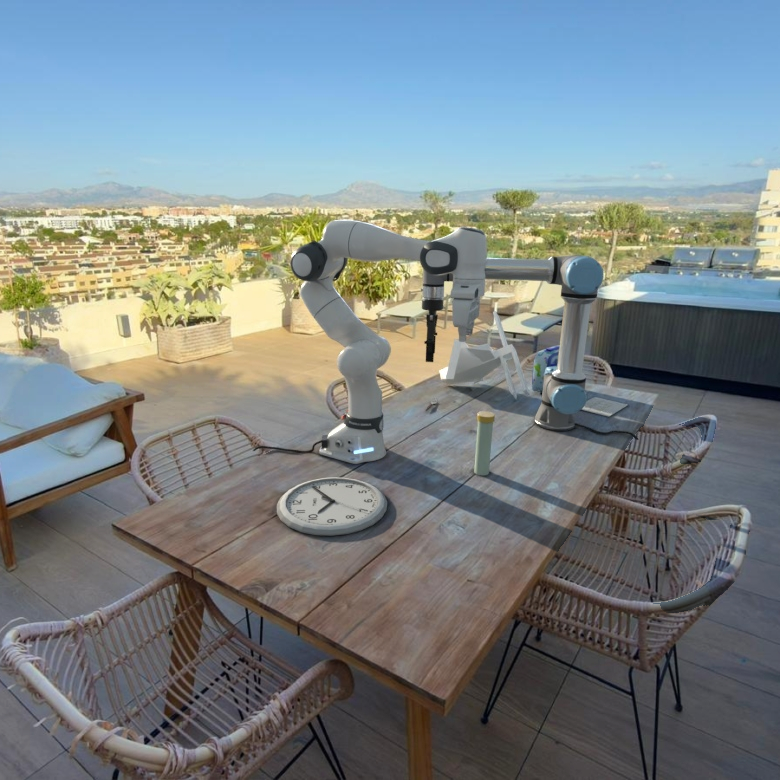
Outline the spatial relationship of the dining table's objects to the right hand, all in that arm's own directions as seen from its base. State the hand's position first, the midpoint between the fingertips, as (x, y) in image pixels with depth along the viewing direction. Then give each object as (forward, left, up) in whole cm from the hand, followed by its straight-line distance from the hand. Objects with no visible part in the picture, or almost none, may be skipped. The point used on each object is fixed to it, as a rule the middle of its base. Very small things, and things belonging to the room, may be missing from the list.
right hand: (430, 357), depth 190 cm
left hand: (-11, +37, +15) cm, 42 cm away
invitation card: (-73, -38, -28) cm, 87 cm away
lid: (-19, +34, -9) cm, 40 cm away
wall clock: (+23, +61, -28) cm, 71 cm away
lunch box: (-56, -59, -28) cm, 86 cm away
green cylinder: (-19, +34, -28) cm, 48 cm away
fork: (0, -26, -28) cm, 38 cm away
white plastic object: (-22, -50, -28) cm, 61 cm away
